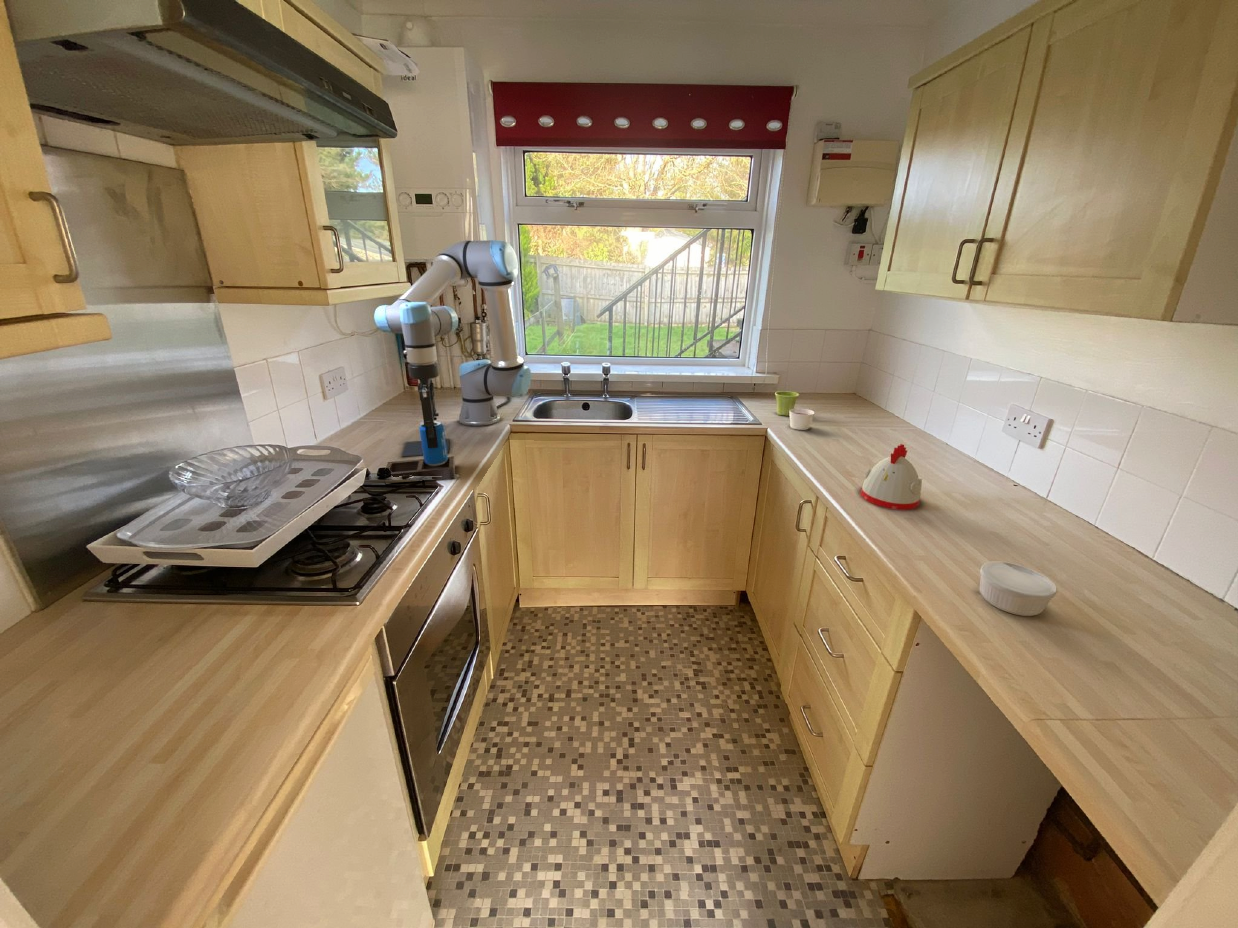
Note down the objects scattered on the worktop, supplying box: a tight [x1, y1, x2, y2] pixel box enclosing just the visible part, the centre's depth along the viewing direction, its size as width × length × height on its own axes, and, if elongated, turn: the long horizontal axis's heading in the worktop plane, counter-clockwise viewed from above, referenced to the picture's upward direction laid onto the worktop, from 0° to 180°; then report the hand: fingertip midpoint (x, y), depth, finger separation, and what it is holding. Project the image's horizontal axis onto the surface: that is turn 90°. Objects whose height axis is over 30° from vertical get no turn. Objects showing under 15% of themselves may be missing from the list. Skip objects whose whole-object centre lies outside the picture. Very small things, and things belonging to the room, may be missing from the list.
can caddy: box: [385, 456, 456, 481], centre depth 147 cm, size 10×18×3 cm, turn 106°
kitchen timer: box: [860, 443, 923, 511], centre depth 133 cm, size 14×14×15 cm
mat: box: [401, 438, 450, 458], centre depth 169 cm, size 14×14×1 cm
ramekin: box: [979, 560, 1058, 617], centre depth 93 cm, size 11×11×5 cm
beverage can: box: [419, 419, 449, 466], centre depth 145 cm, size 6×6×12 cm
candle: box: [789, 407, 815, 431], centre depth 193 cm, size 9×9×6 cm
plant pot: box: [774, 390, 800, 417], centre depth 210 cm, size 9×9×9 cm
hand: (433, 443), depth 145 cm, fingers closed on beverage can, 6 cm apart
